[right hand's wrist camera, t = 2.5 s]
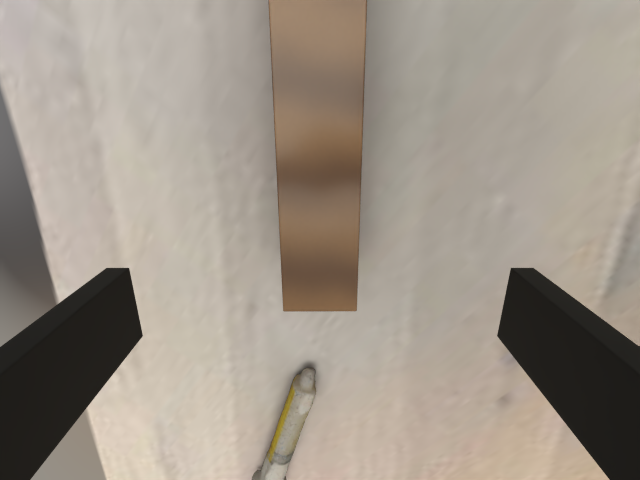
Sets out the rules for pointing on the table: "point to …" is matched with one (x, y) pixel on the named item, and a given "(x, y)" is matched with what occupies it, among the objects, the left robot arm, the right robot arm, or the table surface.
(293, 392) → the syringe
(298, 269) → the post
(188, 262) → the table surface
